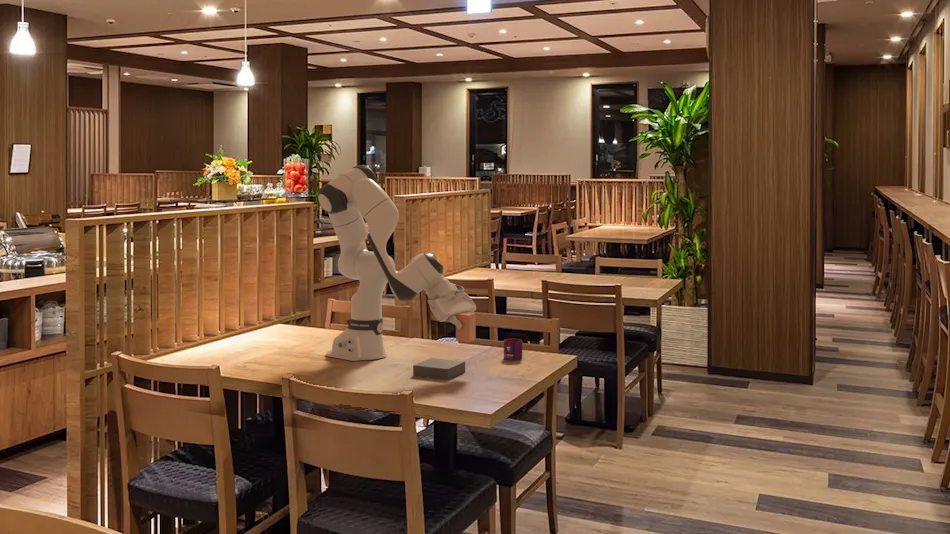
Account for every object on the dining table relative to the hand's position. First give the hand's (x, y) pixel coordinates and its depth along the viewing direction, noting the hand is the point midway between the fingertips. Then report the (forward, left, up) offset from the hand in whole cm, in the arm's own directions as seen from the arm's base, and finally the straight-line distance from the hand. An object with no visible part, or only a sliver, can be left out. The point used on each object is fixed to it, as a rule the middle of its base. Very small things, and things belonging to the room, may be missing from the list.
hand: (467, 326), depth 291 cm
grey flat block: (-8, -4, -17) cm, 19 cm away
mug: (+5, +31, -16) cm, 35 cm away
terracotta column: (-1, 0, -5) cm, 5 cm away
